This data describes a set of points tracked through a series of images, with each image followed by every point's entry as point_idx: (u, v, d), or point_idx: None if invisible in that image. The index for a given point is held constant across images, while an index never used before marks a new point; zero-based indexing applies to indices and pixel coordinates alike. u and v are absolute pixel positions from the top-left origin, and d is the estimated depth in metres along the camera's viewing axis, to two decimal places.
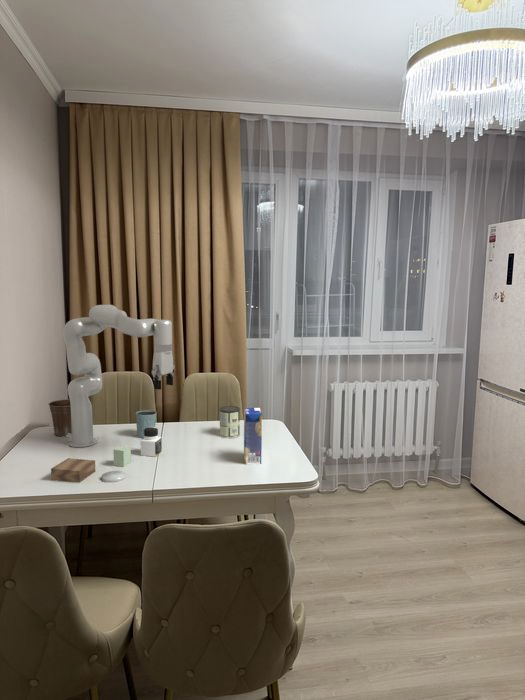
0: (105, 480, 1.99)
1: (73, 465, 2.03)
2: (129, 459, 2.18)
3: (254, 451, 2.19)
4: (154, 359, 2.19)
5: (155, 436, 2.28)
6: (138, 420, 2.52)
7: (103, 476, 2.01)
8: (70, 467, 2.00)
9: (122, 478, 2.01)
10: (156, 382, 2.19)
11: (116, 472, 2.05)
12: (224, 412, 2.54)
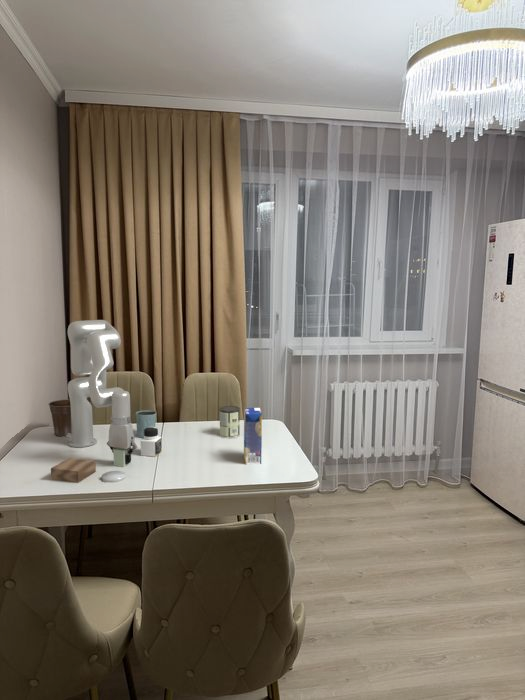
0: (105, 480, 1.99)
1: (72, 465, 2.03)
2: None
3: (254, 451, 2.19)
4: (129, 432, 2.13)
5: (155, 436, 2.28)
6: (139, 420, 2.52)
7: (103, 476, 2.01)
8: (70, 467, 2.00)
9: (122, 478, 2.01)
10: (129, 456, 2.16)
11: (116, 472, 2.05)
12: (224, 412, 2.54)
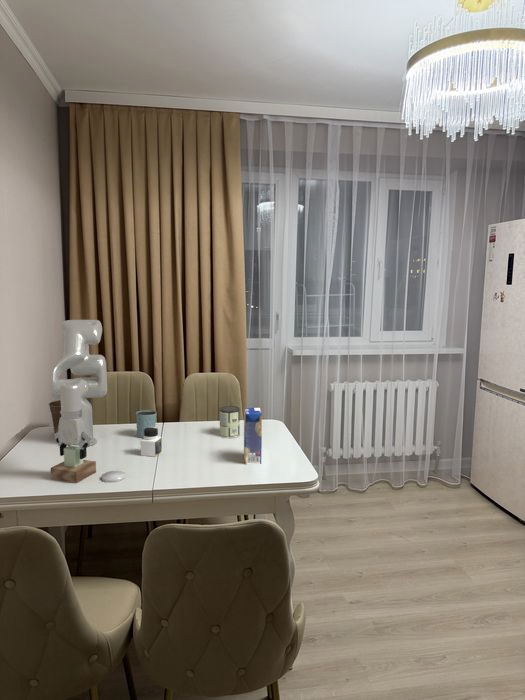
0: (106, 480, 1.98)
1: None
2: (81, 459, 2.04)
3: (254, 451, 2.19)
4: (79, 427, 1.99)
5: (155, 436, 2.28)
6: (139, 420, 2.52)
7: (103, 476, 2.01)
8: (69, 467, 2.00)
9: (123, 478, 2.01)
10: (84, 451, 2.01)
11: (115, 472, 2.05)
12: (224, 412, 2.54)
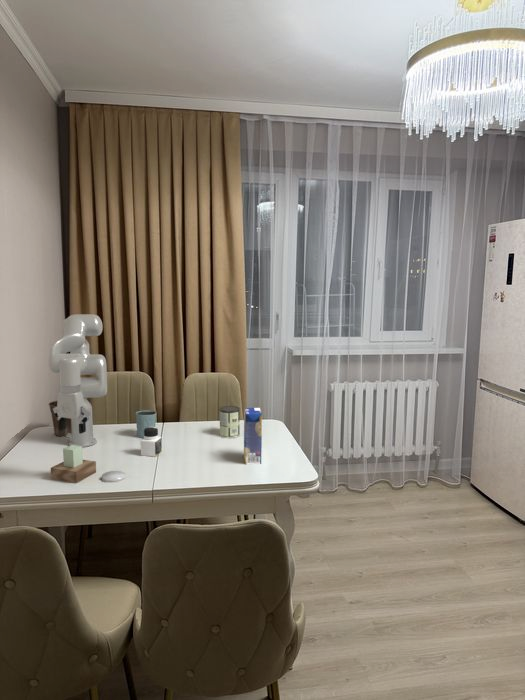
0: (106, 480, 1.98)
1: None
2: (80, 459, 2.04)
3: (254, 451, 2.19)
4: (78, 401, 1.97)
5: (155, 436, 2.28)
6: (139, 420, 2.52)
7: (103, 476, 2.01)
8: (69, 467, 2.00)
9: (123, 478, 2.01)
10: (83, 425, 2.00)
11: (115, 472, 2.05)
12: (224, 412, 2.54)
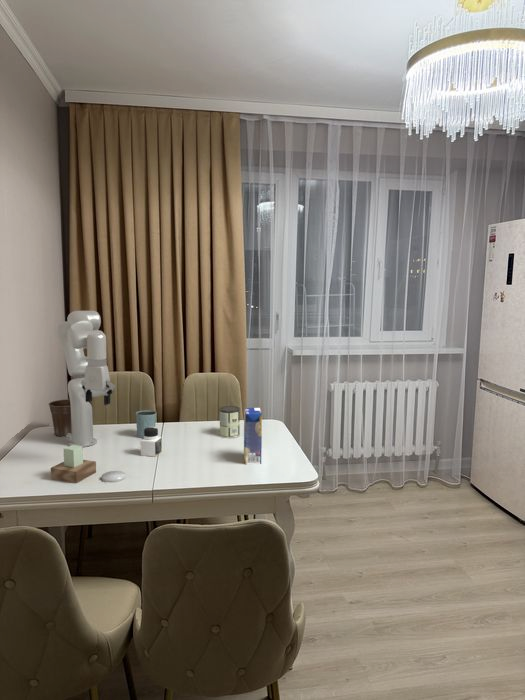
0: (106, 480, 1.98)
1: None
2: (81, 459, 2.04)
3: (254, 451, 2.19)
4: (104, 374, 2.10)
5: (155, 436, 2.28)
6: (139, 420, 2.52)
7: (103, 476, 2.01)
8: (69, 467, 2.00)
9: (123, 478, 2.01)
10: (108, 397, 2.13)
11: (115, 472, 2.05)
12: (224, 412, 2.54)
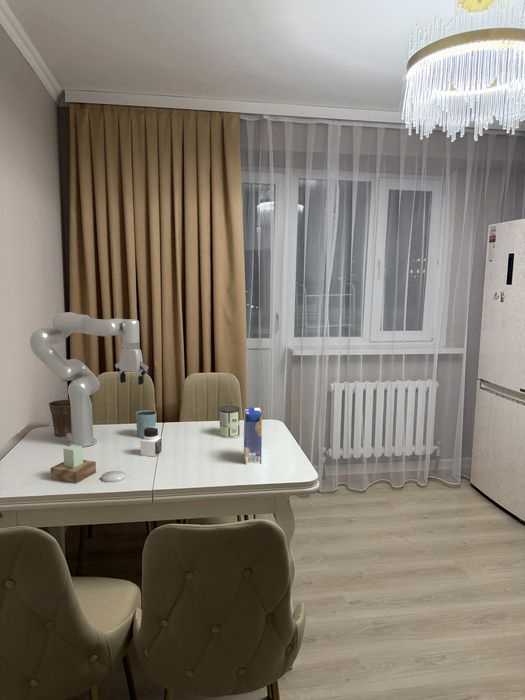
0: (106, 480, 1.98)
1: None
2: (81, 459, 2.04)
3: (254, 451, 2.19)
4: (138, 356, 2.31)
5: (155, 436, 2.28)
6: (139, 420, 2.52)
7: (103, 476, 2.00)
8: (69, 467, 2.00)
9: (123, 478, 2.01)
10: (142, 378, 2.34)
11: (115, 472, 2.05)
12: (224, 412, 2.54)
